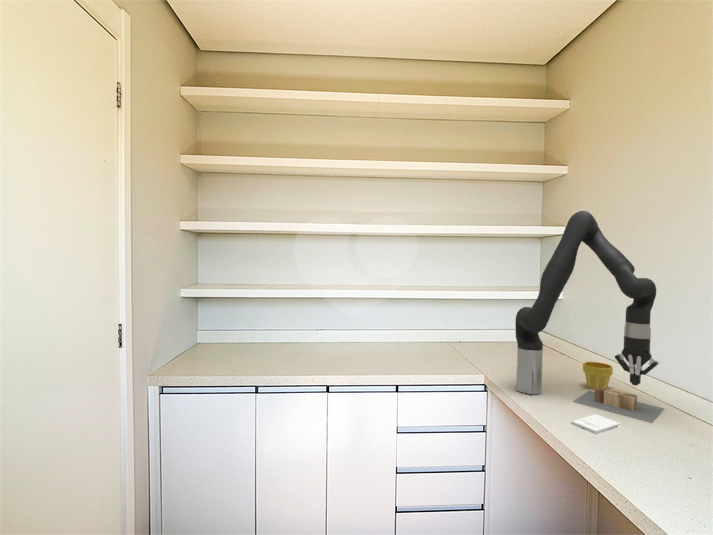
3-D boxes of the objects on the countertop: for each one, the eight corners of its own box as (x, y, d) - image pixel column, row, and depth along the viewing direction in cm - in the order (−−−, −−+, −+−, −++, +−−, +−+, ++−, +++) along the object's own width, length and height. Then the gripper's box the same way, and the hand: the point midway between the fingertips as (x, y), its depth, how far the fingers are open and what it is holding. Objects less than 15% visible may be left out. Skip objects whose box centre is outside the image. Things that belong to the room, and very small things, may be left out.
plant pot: (581, 382, 169) (582, 359, 168) (609, 386, 164) (610, 363, 164) (583, 390, 160) (584, 366, 159) (613, 394, 155) (614, 369, 155)
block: (633, 398, 137) (594, 389, 146) (633, 411, 137) (594, 401, 146) (637, 395, 140) (598, 386, 149) (636, 407, 140) (598, 398, 149)
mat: (652, 425, 128) (652, 423, 128) (572, 403, 146) (572, 401, 146) (664, 410, 140) (664, 408, 140) (589, 391, 158) (589, 390, 158)
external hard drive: (619, 428, 127) (595, 435, 121) (594, 418, 134) (570, 425, 129) (620, 423, 127) (595, 430, 121) (594, 413, 134) (570, 420, 128)
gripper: (611, 333, 140) (609, 382, 141) (657, 340, 130) (655, 392, 131) (618, 331, 145) (616, 377, 146) (663, 337, 135) (661, 387, 136)
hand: (635, 384), depth 138 cm, fingers closed
